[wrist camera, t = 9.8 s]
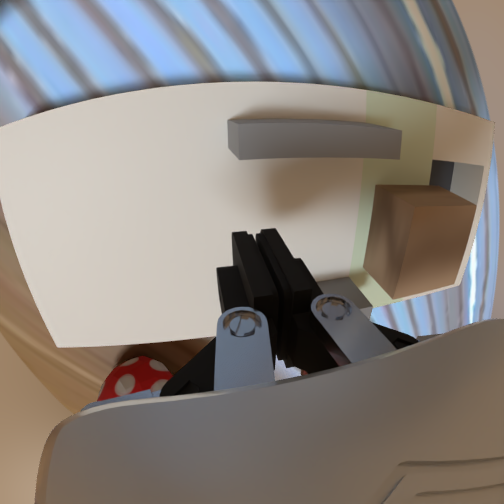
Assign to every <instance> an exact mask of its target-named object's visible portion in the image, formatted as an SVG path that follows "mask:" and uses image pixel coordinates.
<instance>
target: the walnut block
mask: <svg viewBox="0 0 504 504" xmlns="http://www.w3.org/2000/svg"><path fill="white" fill-rule="evenodd" d="M476 207H477V205H475V204H474V203H472V202H470V201H468V200H466V199H464V198H462V197H460V196H458V195H456V194H454V193H452V192H450V191H448V190H446V189H444V188H442V187H440V186H434V185H375V193H374V200H373V208H372V215H371V222H370V228H369V234H368V240H367V246H366V252H365V257H364V263H363V268H364V269H365V270H366V271H367V272H368V273H369V274H370V276H371V277H372V278H373V279H374V280H375V281H376V282H377V283H378V284H379V285H380V286H381V287H382V289H383V290H384V291H385V292H386V293H387V294H388V295H389V296H390V297H391V298H392V300H394V299H398V298H402V297H407V296H411V295H415V294H419V293H423V292H427V291H430V290H434V289H438V288H442V287H445V286H449V285H453V284H454V283H455V280H456V277H457V275H458V272H459V269H460V266H461V262H462V259H463V256H464V253H465V249H466V246H467V243H468V239H469V235H470V232H471V228H472V224H473V220H474V216H475V212H476Z"/></svg>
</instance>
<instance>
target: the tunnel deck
mask: <svg viewBox="0 0 504 504" xmlns="http://www.w3.org/2000/svg"><path fill="white" fill-rule="evenodd" d="M494 127H495V122H492V121H489V120H486V119H484V118H481V117H478V116H475V115H472V114H468V113H465V112H462V111H459V110H455V109H452V108H448V107H445V106H441V105H437V104H433V103H429V102H425V101H421V100H417V99H412V98H408V97H403V96H398V95H393V94H387V93H382V92H376V91H370V90H363V89H356V88H348V87H340V86H331V85H320V84H307V83H291V82H217V83H200V84H188V85H177V86H168V87H159V88H152V89H145V90H138V91H132V92H126V93H120V94H115V95H110V96H105V97H100V98H95V99H91V100H87V101H82V102H78V103H74V104H70V105H66V106H63V107H59V108H56V109H52V110H49V111H45V112H42V113H39V114H36V115H33V116H30V117H27V118H24V119H21V120H18V121H15V122H13V123H10V124H7V125H5V126H2V127H0V199H1V203H2V207H3V211H4V215H5V219H6V222H7V226H8V229H9V233H10V236H11V239H12V242H13V245H14V248H15V251H16V254H17V257H18V260H19V263H20V266H21V268H22V271H23V274H24V276H25V279H26V281H27V284H28V286H29V289H30V291H31V293H32V296H33V298H34V300H35V303H36V305H37V307H38V309H39V312H40V314H41V316H42V318H43V320H44V322H45V324H46V326H47V328H48V330H49V332H50V334H51V336H52V338H53V340H54V342H55V344H56V346H57V347H93V346H113V345H129V344H143V343H155V342H166V341H176V340H186V339H195V338H203V337H212V336H216V333H217V322H218V318H219V317H220V316H221V315H222V312H221V307H220V301H219V293H218V284H217V273H216V268H217V267H226V266H233V256H232V232H239V231H247V233H248V234H253V237H254V239H255V237H256V233H260V231H261V229H270V228H276V229H277V231H278V233H279V234H280V236H281V237H282V239H283V241H284V242H285V244H286V246H287V247H288V249H289V251H290V252H291V254H292V255H293V257H294V258H301V259H302V260H303V262H304V263H305V265H306V267H307V268H308V270H309V271H310V273H311V274H312V276H313V278H314V279H315V281H316V282H317V284H318V286H319V287H320V289H321V290H322V292H323V294H338V295H342V296H344V297H346V298H348V299H349V300H351V301H352V302H353V303H354V304H355V305H356V306H357V307H358V308H359V309H360V310H361V311H362V312H363V314H364V315H365V316H366V317H367V318H368V319H370V316H371V312H372V308H375V307H379V306H384V305H388V304H392V303H396V302H400V301H404V300H408V299H412V298H415V297H419V296H423V295H427V294H430V293H434V292H437V291H441V290H444V289H448V288H451V287H455V286H458V285H460V283H461V280H462V277H463V274H464V271H465V268H466V265H467V262H468V259H469V256H470V252H471V249H472V246H473V242H474V239H475V235H476V231H477V227H478V223H479V219H480V215H481V211H482V207H483V202H484V197H485V192H486V187H487V181H488V176H489V169H490V163H491V156H492V147H493V138H494ZM375 185H434V186H440V187H442V188H444V189H446V190H448V191H450V192H452V193H454V194H456V195H458V196H460V197H462V198H464V199H466V200H468V201H470V202H472V203H474V204H475V205H477V207H476V212H475V216H474V220H473V224H472V228H471V232H470V235H469V239H468V243H467V246H466V249H465V253H464V256H463V259H462V262H461V266H460V269H459V272H458V275H457V277H456V280H455V283H454V284H453V285H449V286H445V287H442V288H438V289H434V290H430V291H427V292H423V293H419V294H415V295H411V296H407V297H402V298H398V299H394V300H392V298H391V297H390V296H389V295H388V294H387V293H386V292H385V291H384V290H383V289H382V287H381V286H380V285H379V284H378V283H377V282H376V281H375V280H374V279H373V278H372V277H371V276H370V274H369V273H368V272H367V271H366V270H365V269H364V268H363V263H364V257H365V252H366V246H367V240H368V234H369V228H370V222H371V215H372V208H373V200H374V193H375Z"/></svg>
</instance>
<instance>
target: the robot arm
mask: <svg viewBox="0 0 504 504" xmlns="http://www.w3.org/2000/svg"><path fill="white" fill-rule="evenodd" d="M232 256H233V266H226V267H217V268H216V273H217V284H218V293H219V301H220V307H221V312H222V315H221V316H220V317H219V318H218V322H217V333H216V337H215V338H214V339H213V340H212V341H211V342H210V343H209V344H208V345H207V346H206V347H204V348H203V349H202V350H201V351H200V352H199V353H198V354H197V355H196V356H195V357H194V358H193V359H191V360H190V361H189V362H188V363H187V364H186V365H185V366H184V367H183V368H182V369H180V370H179V371H178V372H177V373H176V374H175V375H174V376H173V377H172V378H171V379H169V380H168V381H167V382H166V383H165V385H164V386H163V387H162V389H161V390H158V391H155V392H151V390H150V389H148V390H144V391H140V392H137V393H132V394H128V395H124V396H120V397H116V398H111V399H107V400H102V401H97V402H93V403H90V404H88V405H86V406H85V407H84V408H83V409H82V410H81V411H80V412H78V413H76V414H74V415H72V416H70V417H68V418H66V419H64V420H63V421H61V422H60V423H59V424H58V425H56V426H55V428H54V429H53V430H52V431H51V433H50V435H49V437H48V438H47V440H46V443H45V446H44V449H43V452H42V456H41V460H40V464H39V469H38V475H37V483H36V493H35V504H504V319H488V320H482V321H479V322H475V323H471V324H469V325H466V326H463V327H460V328H457V329H454V330H452V331H449V332H446V333H444V334H435V335H426V336H417V339H415V338H414V337H412V336H410V335H408V334H405V333H402V332H399V331H396V330H393V329H390V328H387V327H384V326H381V325H378V324H375V323H372V322H371V321H370V320H369V319H368V318H367V317H366V316H365V315H364V314H363V312H362V311H361V310H360V309H359V308H358V307H357V306H356V305H355V304H354V303H353V302H352V301H351V300H349V299H348V298H346V297H344V296H342V295H338V294H323V292H322V290H321V289H320V287H319V286H318V284H317V282H316V281H315V279H314V278H313V276H312V274H311V273H310V271H309V270H308V268H307V267H306V265H305V263H304V262H303V260H302V259H301V258H294V257H293V255H292V254H291V252H290V251H289V249H288V247H287V246H286V244H285V242H284V241H283V239H282V237H281V236H280V234H279V233H278V231H277V229H276V228H270V229H261V231H260V233H256V237H255V239H254V237H253V234H248V233H247V231H239V232H232ZM276 355H277V358H278V360H284V363H285V366H286V368H289V367H294V366H295V367H297V368H299V369H301V375H302V376H297V377H293V378H288V379H283V380H278V381H275V377H274V370H275V360H276Z"/></svg>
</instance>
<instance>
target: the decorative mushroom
mask: <svg viewBox="0 0 504 504" xmlns="http://www.w3.org/2000/svg"><path fill="white" fill-rule="evenodd" d="M172 377H173V375H172V374H171V373H170V372H169V370H168V369H167V368H166V367H165V366H164V364H163V363H161V362H159V361H156V360H154V359H151V358H148V357H146V356H140V357H136V358H133V359H131V360H128V361H126V362H124V363H122V364H121V365H119V366H117V367H116V368H114V369H113V371H112V372H111V373H110V374H109V376H108V377H107V378H106V380H105V381H104V383H103V384H102V387H101V389H100V392H99V396H98V400H97V401H102V400H107V399H111V398H116V397H120V396H124V395H128V394H132V393H137V392H140V391H144V390H148V389H150V390H151V392H155V391H158V390H161V389H162V387H163V386H164V385H165V383H166V382H167V381H168V380H169V379H171V378H172Z"/></svg>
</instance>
